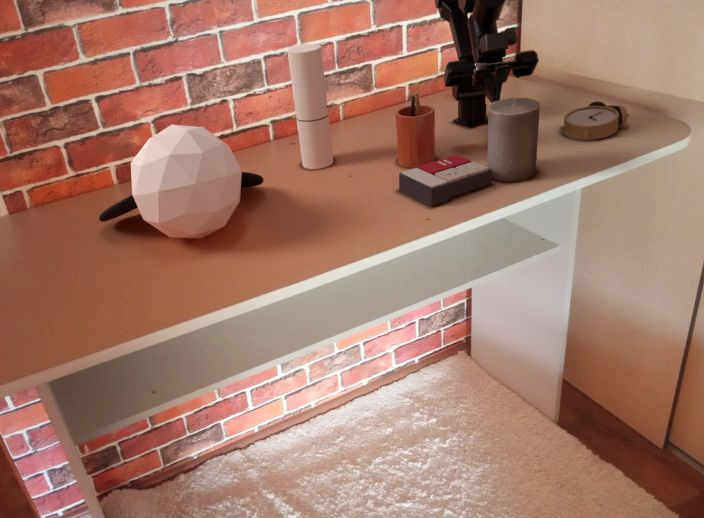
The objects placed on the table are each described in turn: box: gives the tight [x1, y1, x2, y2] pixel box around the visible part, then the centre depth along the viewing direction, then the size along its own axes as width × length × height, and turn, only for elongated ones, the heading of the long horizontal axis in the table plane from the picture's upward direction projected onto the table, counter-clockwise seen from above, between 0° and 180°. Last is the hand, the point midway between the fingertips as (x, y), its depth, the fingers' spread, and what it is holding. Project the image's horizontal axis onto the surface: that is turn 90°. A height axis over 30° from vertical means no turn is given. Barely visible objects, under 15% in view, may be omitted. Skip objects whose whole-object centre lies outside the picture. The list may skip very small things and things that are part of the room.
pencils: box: [410, 91, 421, 116], centre depth 151 cm, size 3×3×14 cm
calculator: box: [398, 154, 493, 207], centre depth 141 cm, size 11×4×15 cm
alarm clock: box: [558, 100, 630, 141], centre depth 156 cm, size 11×5×15 cm
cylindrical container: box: [286, 43, 334, 170], centre depth 154 cm, size 7×7×25 cm
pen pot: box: [395, 104, 436, 169], centre depth 152 cm, size 8×8×11 cm
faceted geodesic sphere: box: [98, 124, 265, 239], centre depth 138 cm, size 35×30×22 cm
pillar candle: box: [486, 97, 541, 183], centre depth 140 cm, size 10×10×15 cm
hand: (496, 105), depth 147 cm, fingers closed
